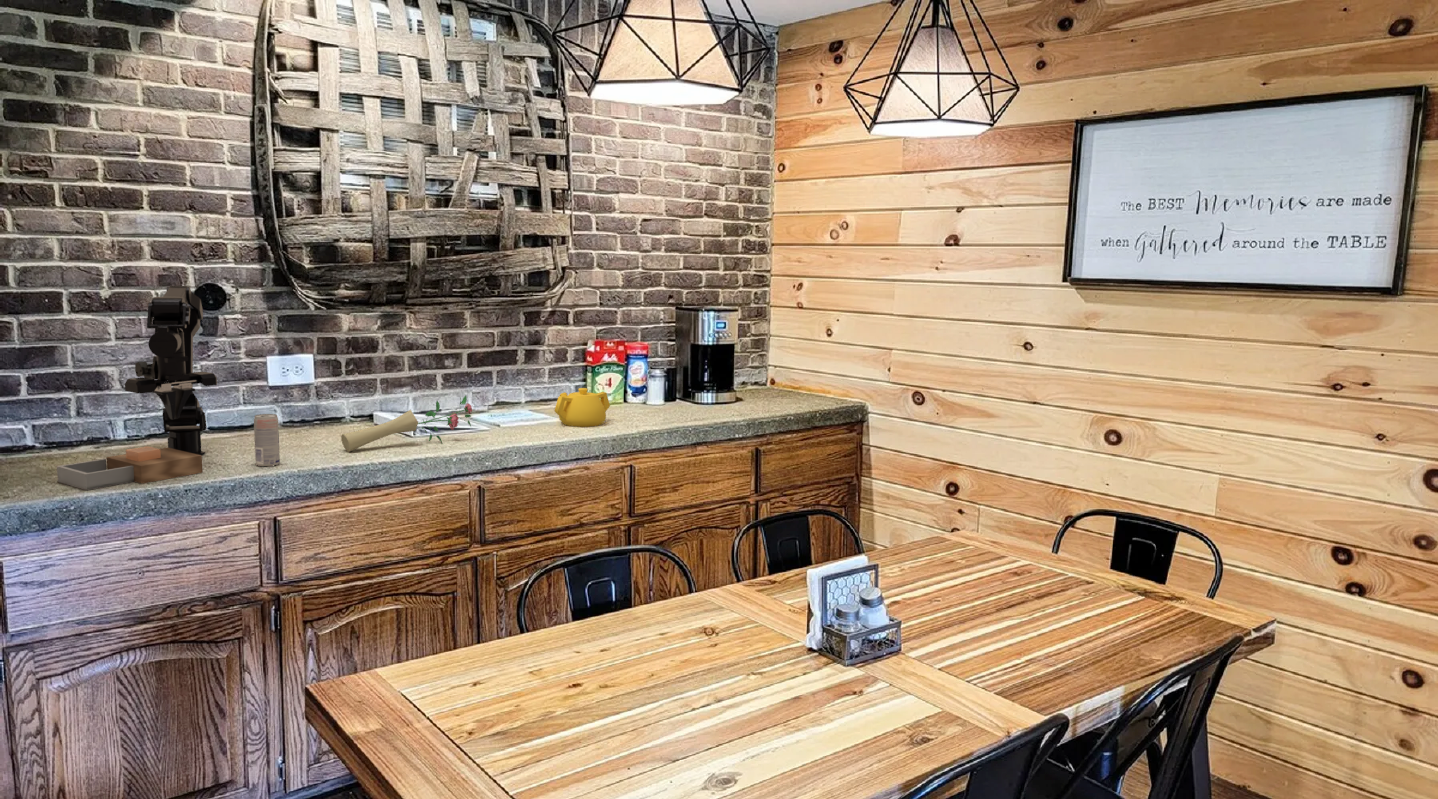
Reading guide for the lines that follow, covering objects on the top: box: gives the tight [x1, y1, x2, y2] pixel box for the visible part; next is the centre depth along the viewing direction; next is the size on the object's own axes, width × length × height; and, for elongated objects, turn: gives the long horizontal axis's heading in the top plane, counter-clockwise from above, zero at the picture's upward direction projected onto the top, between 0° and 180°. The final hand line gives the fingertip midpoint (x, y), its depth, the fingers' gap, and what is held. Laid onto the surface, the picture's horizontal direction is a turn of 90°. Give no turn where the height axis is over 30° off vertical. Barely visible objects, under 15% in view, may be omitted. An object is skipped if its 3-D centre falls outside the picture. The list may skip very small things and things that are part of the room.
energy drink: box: [253, 413, 281, 467], centre depth 242 cm, size 5×5×12 cm
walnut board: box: [105, 446, 204, 484], centre depth 230 cm, size 14×14×4 cm
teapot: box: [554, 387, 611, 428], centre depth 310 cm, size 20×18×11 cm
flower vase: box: [340, 395, 473, 453], centre depth 270 cm, size 12×12×35 cm
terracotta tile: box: [125, 445, 161, 461], centre depth 228 cm, size 5×5×2 cm
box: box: [56, 458, 135, 491], centre depth 221 cm, size 10×12×4 cm
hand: (174, 419), depth 233 cm, fingers closed
